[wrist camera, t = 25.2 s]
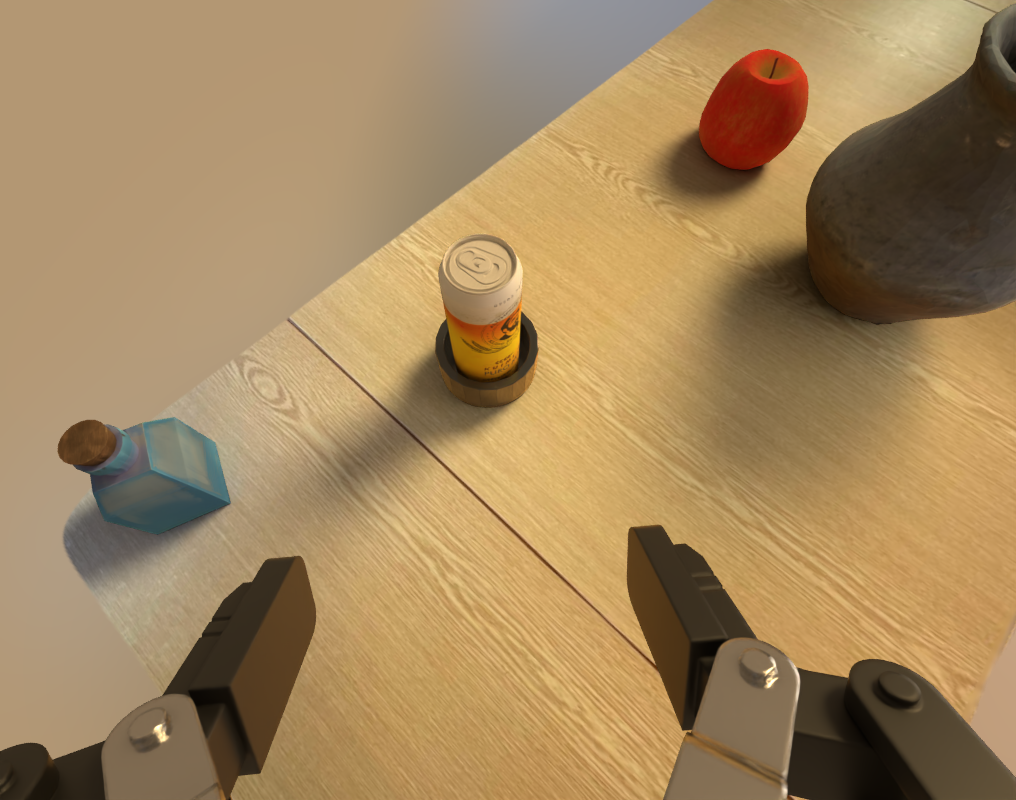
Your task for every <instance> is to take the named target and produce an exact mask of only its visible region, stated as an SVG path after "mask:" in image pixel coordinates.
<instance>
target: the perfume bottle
mask: <svg viewBox="0 0 1016 800" xmlns="http://www.w3.org/2000/svg"><path fill="white" fill-rule="evenodd" d="M58 454H59V457H60V458H61V459H62V460H63V461H64V462H65V463H68V464H72V465H73V466H74V467H75V468H76V469H78V470H81V471H83V472H86V473H89V474H90V477H91V484H92V491H93V495H94V497H95V499H96V502H97V504H98V507H99V509H100V511H101V514H102V516H103V519H104V521H107V522H111V523H114V524H118V525H122V526H126V527H130V528H134V529H138V530H142V531H146V532H149V533H153V534H157V535H158V534H160V533H163V532H165V531H167V530H170V529H172V528H174V527H177V526H179V525H181V524H184V523H186V522H188V521H191V520H193V519H195V518H198V517H200V516H202V515H205V514H207V513H209V512H211V511H214V510H216V509H218V508H221V507H223V506H225V505H228V504H230V499H229V495H228V491H227V487H226V483H225V479H224V475H223V471H222V467H221V464H220V460H219V456H218V452H217V448H216V444H215V442H213V441H212V440H210V439H209V438H207V437H205V436H204V435H202V434H201V433H199V432H197V431H196V430H194V429H193V428H191V427H189V426H188V425H186V424H184V423H183V422H181V421H180V420H178V419H176V418H175V417H172V418H167V419H161V420H155V421H150V422H144V423H141V424H138V425H135V426H133V427H130V428H128V429H125V430H120V429H118V428H116V427H114V426H111V425H103V424H102V423H101V422H99V421H96V420H85V421H81V422H79V423H77V424H75V425H73V426H71V427H70V428H69V429H68V430H67V431H66V432H65V433H64V434H63V436H62V437H61V439H60V441H59V444H58Z"/></svg>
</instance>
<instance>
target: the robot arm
mask: <svg viewBox="0 0 1016 800" xmlns="http://www.w3.org/2000/svg"><path fill="white" fill-rule="evenodd" d="M627 586H628V592H629V597H630V600H631V604H632V606H633V609H634V611H635V614H636V616H637V619H638V621H639V624H640V626H641V629H642V631H643V634H644V636H645V639H646V641H647V644H648V646H649V649H650V651H651V653H652V656H653V658H654V661H655V663H656V666H657V668H658V671H659V673H660V676H661V678H662V681H663V683H664V686H665V688H666V691H667V693H668V696H669V698H670V701H671V703H672V706H673V708H674V711H675V713H676V716H677V718H678V721H679V723H680V726H681V728H682V731H683V730H692V731H691V733H689V732H687V733H686V735H685V737H684V739H683V742H682V745H681V748H680V751H679V754H678V757H677V760H676V763H675V766H674V769H673V772H672V775H671V778H670V781H669V784H668V787H667V790H666V793H665V796H664V799H663V800H787V794H788V795H792V796H796V797H800V798H804V799H809V800H1016V777H1015V776H1014V775H1013V774H1012V773H1011V772H1010V770H1009V769H1008V768H1007V767H1006V766H1005V765H1004V764H1003V763H1002V762H1001V760H1000V759H999V758H998V757H997V756H996V755H995V754H994V753H993V751H992V750H991V749H990V748H989V747H988V746H987V745H986V744H985V743H984V741H983V740H982V739H981V738H980V737H979V736H978V735H977V734H976V733H975V731H974V730H973V729H972V728H971V727H970V726H969V725H968V724H967V722H966V721H965V720H964V719H963V718H962V717H961V716H960V715H959V714H958V712H957V711H956V710H955V709H954V708H953V707H952V706H951V705H950V703H949V702H948V701H947V700H946V699H945V698H944V697H943V696H942V695H941V693H940V692H939V691H938V690H937V689H936V688H935V687H934V686H933V685H932V684H930V683H929V682H928V681H927V680H926V679H924V678H923V677H921V676H920V675H918V674H917V673H915V672H913V671H911V670H910V669H908V668H905V667H903V666H901V665H898V664H896V663H893V662H889V661H885V660H879V659H867V660H862V661H859V662H857V663H856V664H854V665H853V667H852V668H851V670H850V673H849V677H848V678H846V677H840V676H834V675H829V674H823V673H818V672H812V671H807V670H803V669H800V668H797V667H795V665H794V664H793V662H792V661H791V660H790V659H789V658H788V657H787V656H786V655H785V654H784V653H783V652H781V651H780V650H778V649H777V648H775V647H774V646H772V645H770V644H768V643H766V642H763V641H760V640H758V639H757V637H756V636H755V634H754V633H753V631H752V630H751V628H750V627H749V625H748V624H747V622H746V621H745V619H744V618H743V616H742V615H741V613H740V612H739V610H738V609H737V607H736V606H735V604H734V603H733V601H732V600H731V598H730V597H729V595H728V594H727V592H726V591H725V589H723V588H722V585H721V583H720V582H719V580H718V579H717V577H716V576H714V574H713V571H712V570H711V568H710V567H709V565H708V564H707V562H706V561H705V559H704V558H703V556H701V555H700V554H699V553H697V552H696V551H695V550H693V549H692V548H691V547H689V546H688V545H687V544H675V545H673V543H672V542H671V540H670V538H669V537H668V535H667V533H666V532H665V530H664V528H663V527H662V526H661V525H651V526H639V527H630V529H629V533H628V558H627ZM315 623H316V608H315V603H314V599H313V595H312V591H311V587H310V583H309V579H308V575H307V571H306V567H305V563H304V560H303V559H302V557H301V556H294V557H283V558H272V559H267V560H266V561H265V562H264V563H263V565H262V566H261V568H260V570H259V571H258V573H257V575H256V576H255V578H254V580H253V581H252V582H248V583H242V584H241V585H240V586H239V587H238V588H237V589H236V590H234V591H233V592H232V593H231V594H230V595H229V596H228V597H226V598H225V599H224V600H223V602H222V603H221V605H220V607H219V608H218V610H217V611H216V613H215V614H214V616H213V618H212V622H209V624H208V625H207V627H206V628H205V630H204V632H203V633H202V638H199V639H198V641H197V642H196V644H195V646H194V647H193V649H192V650H191V652H190V653H189V655H188V656H187V658H186V660H185V661H184V663H183V664H182V666H181V667H180V669H179V671H178V672H177V674H176V675H175V677H174V678H173V680H172V681H171V683H170V685H169V686H168V688H167V689H166V691H165V692H164V694H163V695H162V696H160V697H158V698H155V699H152V700H150V701H148V702H146V703H144V704H143V705H141V706H139V707H137V708H136V709H135V710H133V711H132V712H130V713H129V714H128V715H127V716H126V717H124V718H123V719H122V720H121V721H120V722H119V723H118V724H117V725H116V726H115V728H114V729H113V730H112V731H111V733H110V734H109V736H108V737H107V739H106V740H105V741H103V742H100V743H98V744H95V745H92V746H89V747H87V748H84V749H81V750H78V751H76V752H73V753H70V754H68V755H65V756H62V757H59V758H56V759H54V760H52V759H51V757H50V755H49V753H48V751H47V750H46V748H45V747H44V746H43V745H41V744H37V743H24V744H20V745H16V746H13V747H10V748H7V749H5V750H2V751H0V800H232V797H231V795H230V794H231V792H232V790H233V787H234V785H235V782H236V780H237V778H238V776H241V775H250V774H260V773H261V770H262V768H263V765H264V762H265V760H266V757H267V755H268V752H269V749H270V747H271V744H272V741H273V739H274V736H275V733H276V731H277V728H278V725H279V723H280V720H281V718H282V715H283V712H284V710H285V707H286V704H287V702H288V699H289V696H290V694H291V691H292V689H293V686H294V683H295V681H296V678H297V675H298V673H299V670H300V667H301V665H302V662H303V659H304V657H305V654H306V652H307V649H308V646H309V644H310V641H311V638H312V636H313V633H314V629H315Z"/></svg>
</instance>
